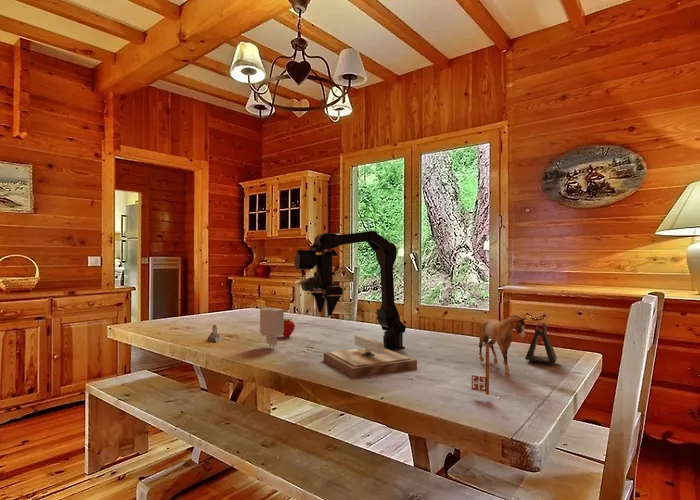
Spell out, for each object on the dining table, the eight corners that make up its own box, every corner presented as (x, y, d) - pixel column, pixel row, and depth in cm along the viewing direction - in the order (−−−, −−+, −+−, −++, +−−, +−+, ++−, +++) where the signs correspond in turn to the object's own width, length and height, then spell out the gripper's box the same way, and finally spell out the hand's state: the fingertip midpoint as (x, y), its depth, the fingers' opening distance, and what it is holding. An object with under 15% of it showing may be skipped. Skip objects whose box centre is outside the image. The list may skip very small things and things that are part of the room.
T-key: (354, 348, 139) (354, 335, 139) (359, 348, 140) (359, 334, 140) (378, 359, 124) (378, 344, 124) (383, 358, 125) (383, 343, 125)
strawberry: (288, 340, 169) (288, 316, 169) (275, 338, 173) (275, 315, 173) (298, 338, 174) (298, 314, 174) (284, 336, 178) (284, 313, 178)
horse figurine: (528, 378, 116) (528, 316, 116) (506, 379, 115) (505, 317, 115) (489, 356, 142) (489, 305, 142) (471, 356, 141) (470, 306, 142)
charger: (275, 352, 149) (275, 310, 149) (258, 348, 155) (258, 308, 155) (285, 349, 153) (284, 309, 153) (268, 346, 158) (268, 307, 159)
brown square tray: (380, 353, 147) (380, 344, 147) (417, 368, 127) (416, 358, 127) (323, 360, 137) (323, 350, 137) (353, 377, 117) (353, 366, 117)
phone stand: (557, 359, 138) (556, 323, 138) (555, 363, 132) (554, 325, 133) (527, 355, 142) (527, 321, 143) (525, 359, 137) (524, 323, 137)
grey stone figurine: (236, 343, 167) (236, 324, 167) (216, 346, 160) (216, 327, 160) (224, 340, 173) (224, 321, 173) (204, 343, 166) (204, 324, 166)
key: (471, 392, 104) (471, 332, 104) (471, 391, 105) (472, 332, 105) (495, 396, 101) (495, 334, 102) (495, 394, 102) (496, 334, 102)
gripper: (294, 268, 149) (294, 312, 149) (311, 270, 132) (311, 319, 132) (323, 268, 154) (323, 310, 153) (343, 269, 137) (343, 316, 136)
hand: (324, 314), depth 144 cm, fingers open, 9 cm apart
